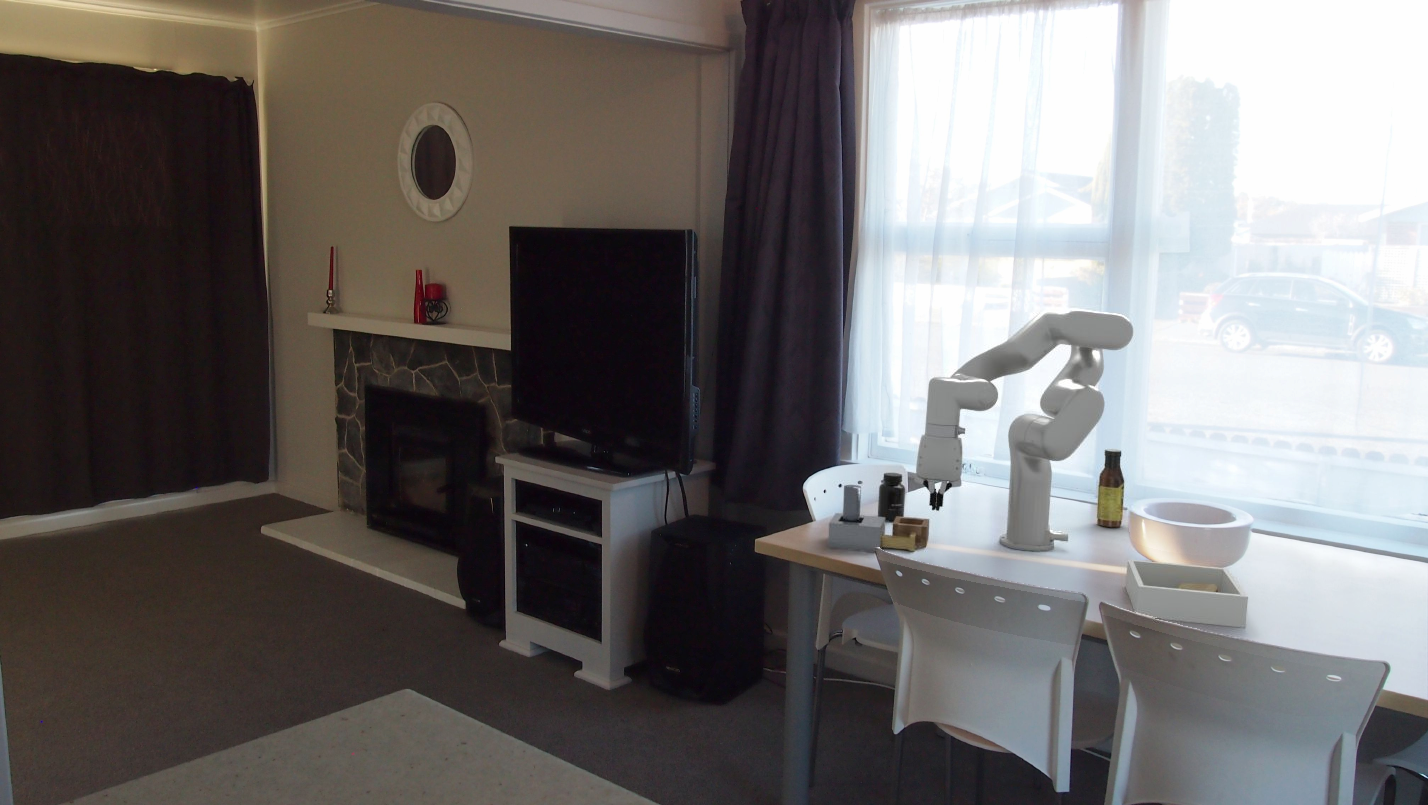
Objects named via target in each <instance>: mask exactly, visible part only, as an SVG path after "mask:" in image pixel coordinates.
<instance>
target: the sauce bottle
mask: <svg viewBox="0 0 1428 805" xmlns="http://www.w3.org/2000/svg"><path fill="white" fill-rule="evenodd" d="M1121 457H1122V450H1120V449H1114V448H1107V449H1105V450H1104V467H1103V469H1102V470H1101V472H1100V473H1099V476H1098V477H1099V481H1098V487H1097V488H1098V491H1097V507H1096V508H1097V510H1096V513H1097V514H1096V519H1097V521H1096V523H1097V525H1099V526H1101V527H1105V528H1119V527H1121V526H1122V522H1123V513H1124V499H1125V498H1124V497H1125V478H1124V474H1123V470H1122V467H1121Z"/></svg>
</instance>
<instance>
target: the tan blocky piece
mask: <svg viewBox="0 0 1428 805" xmlns="http://www.w3.org/2000/svg"><path fill="white" fill-rule="evenodd" d="M881 548H887V549H898V550H908V551H909V552H912V553H913V552H915V551H916V548H917V547H916V533H913V532H911V534H910V537H904V536H893V535H892V534H891V535H890V534H885V535H882V541H881Z"/></svg>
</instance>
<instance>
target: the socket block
mask: <svg viewBox="0 0 1428 805" xmlns="http://www.w3.org/2000/svg"><path fill="white" fill-rule="evenodd" d="M882 535H886V521H885V517H878V516H875V515H865V514H864V515H862V514H860V523H852V522H843V513H838V512H835V514H834V516H833V517H832V518H831V519H830V521H829V522H828V540H827V541H828V546H827V547H828V548H829V549H838V550H847V551H849V550H850V551H857V552H858V551H860V552H870V553H876V552H875V547H880V548H881V549H882V547H881V541H882Z"/></svg>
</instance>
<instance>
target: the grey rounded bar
mask: <svg viewBox="0 0 1428 805" xmlns="http://www.w3.org/2000/svg"><path fill="white" fill-rule="evenodd" d="M861 497H862V486H861V485H858V484H845V485H844V486H843V503H842V504H843V505H842V506H843V507H842V514H843V522H852V523H860V515H861V502H862V500H861Z"/></svg>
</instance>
